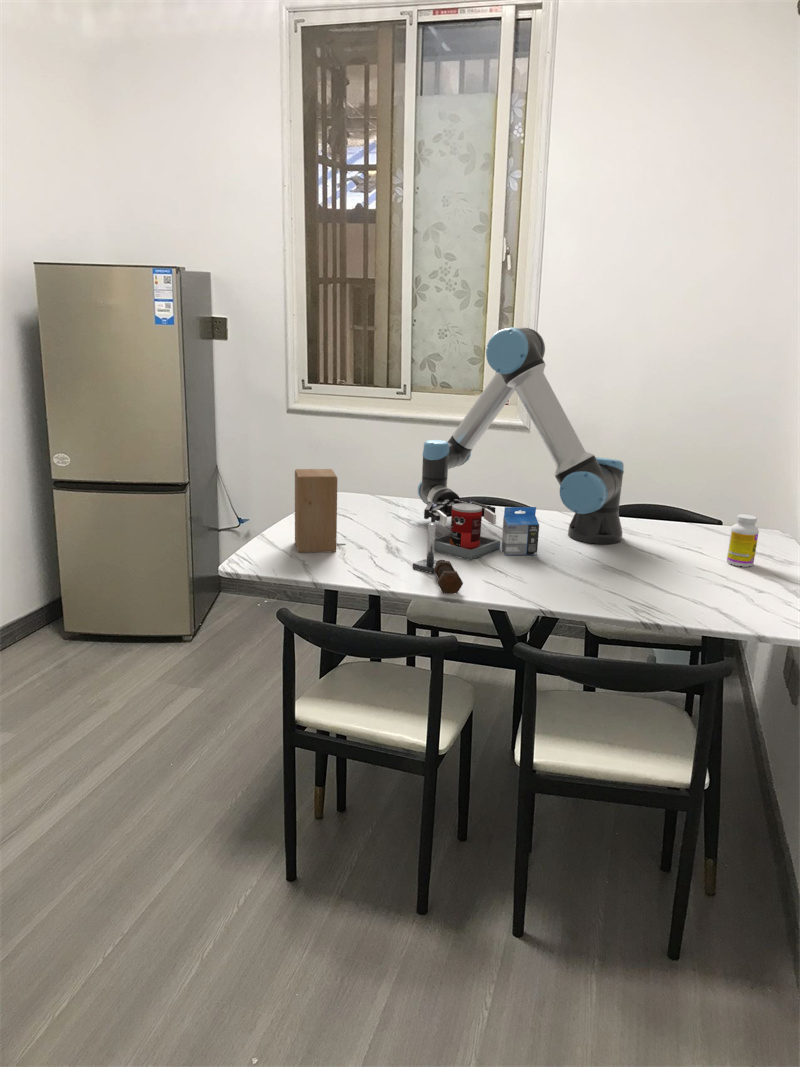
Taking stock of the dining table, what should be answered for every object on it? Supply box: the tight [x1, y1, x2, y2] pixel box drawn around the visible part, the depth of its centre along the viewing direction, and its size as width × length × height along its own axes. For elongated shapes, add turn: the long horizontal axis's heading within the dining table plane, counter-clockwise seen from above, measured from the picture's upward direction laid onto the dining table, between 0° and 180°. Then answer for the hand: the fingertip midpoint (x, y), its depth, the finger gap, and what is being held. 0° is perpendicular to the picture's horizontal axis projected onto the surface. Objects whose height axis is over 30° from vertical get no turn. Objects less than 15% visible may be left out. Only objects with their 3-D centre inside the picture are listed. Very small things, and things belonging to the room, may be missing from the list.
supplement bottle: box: [725, 513, 760, 568], centre depth 206 cm, size 7×7×13 cm
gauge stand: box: [412, 522, 438, 574], centre depth 193 cm, size 6×6×11 cm
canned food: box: [449, 502, 483, 550], centre depth 209 cm, size 8×8×11 cm
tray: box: [434, 533, 502, 562], centre depth 210 cm, size 14×14×3 cm
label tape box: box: [501, 506, 540, 556], centre depth 208 cm, size 9×4×12 cm, turn 99°
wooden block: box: [294, 468, 338, 553], centre depth 205 cm, size 10×10×20 cm
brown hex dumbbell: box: [434, 559, 464, 595], centre depth 184 cm, size 6×5×15 cm
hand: (470, 520), depth 206 cm, fingers open, 13 cm apart
